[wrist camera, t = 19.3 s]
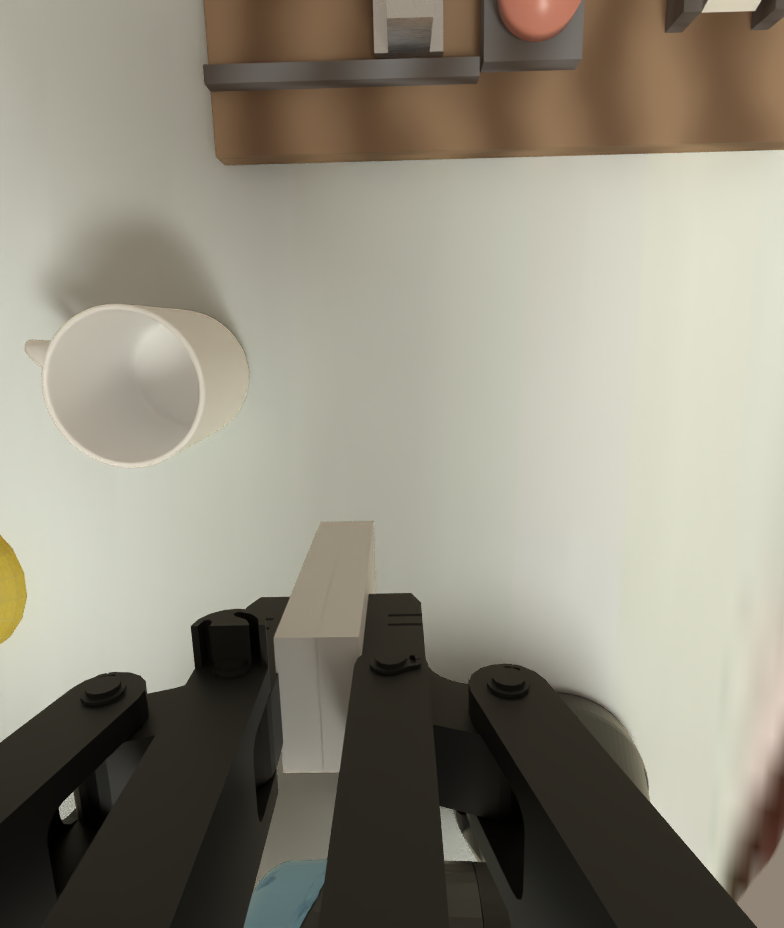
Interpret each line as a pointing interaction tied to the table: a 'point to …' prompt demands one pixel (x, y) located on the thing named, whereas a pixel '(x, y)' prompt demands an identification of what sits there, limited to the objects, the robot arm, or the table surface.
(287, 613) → the robot arm
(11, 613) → the handbell
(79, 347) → the mug
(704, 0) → the toggle lever
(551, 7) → the push button
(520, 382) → the table surface
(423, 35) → the slide knob
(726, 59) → the control board
